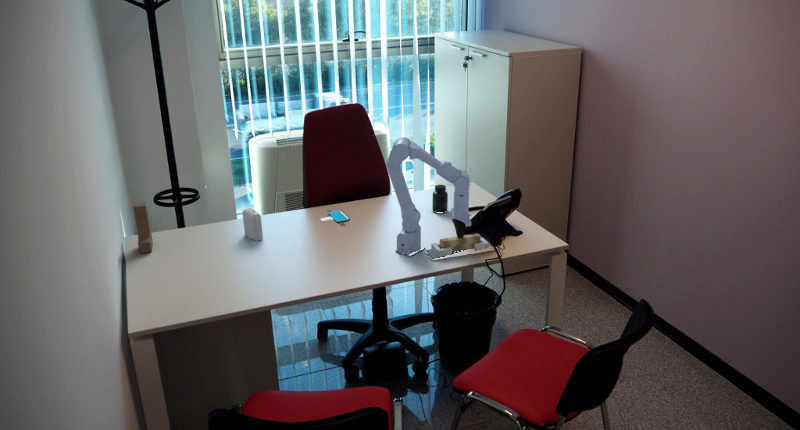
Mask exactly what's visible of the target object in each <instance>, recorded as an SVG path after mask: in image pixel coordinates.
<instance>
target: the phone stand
mask: <svg viewBox="0 0 800 430" xmlns="http://www.w3.org/2000/svg"><path fill="white" fill-rule="evenodd" d="M326 211H327V212H328V215H330V216H326V217H321V218H320V221H321V222H328V221H336V223H338V224H339V225H341V226H345V225H346V224H345V223H344V222H348V221H350V220H351V219H350V216H348V215H347V214H346V213H345V212H344V210H342V209H341V210H334V211H332V210H331V209H326Z"/></svg>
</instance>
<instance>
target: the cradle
mask: <svg viewBox="0 0 800 430" xmlns="http://www.w3.org/2000/svg"><path fill="white" fill-rule="evenodd" d="M489 244H490V243H489V241H487V240H486V239H485V238H484V237H482V236H481V237H480V243H475V244H474V250H475V251H477V250H482V249H486V248H488V247H489ZM430 246H431V249H424V252H425V251H426V252H427V253H428V255H429V256H430V257H431V258H432V259H435V258H440V257H445V256H447V255H452V254H454V252H452V249H451V248H450V247H449V248H443V249H440V242H433V243H431V245H430ZM463 251H464V250H463ZM459 252H461V251H459ZM455 253H458V252H457V251H456V252H455ZM428 255H427V256H428Z"/></svg>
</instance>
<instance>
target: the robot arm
mask: <svg viewBox="0 0 800 430" xmlns="http://www.w3.org/2000/svg"><path fill="white" fill-rule="evenodd" d="M407 158H409V159H408V160H416V159H418V160H419V161H421V162H422V163H425V165H429V166H430V167H431V168H433V169H435V172H436V174H437V175H438V176H440V177H441V178H443V179H444V180H446V181H447V182H449V183H450V184H453V187H454V191H453V206H452V207H453V208H450V214H451V215H452V217H453V218H452V219H451V221H452V223H453V226H454V229H455V233H456V237H458V238H461V237H463V236H465V232H466V230H467V227H471V226H472V220H471V219H470V217H471V216H472V213H470V211H469V210H470V209H469V206H470V192H469V191H470V185H471V184H470V182H471V180H470V176H469V174H468V173H467V172H466V170H462V169H459V168H457V167H455V166H454V165H453V164H452V162H451V161H446V160H442V161H441V160H439V159H438V158H436V156H433V155H432V154H431V153H429V152H428V151H427V150H426V149H424V148H422V147H421V146H420V145H418V144H417V143H416V142H414V141H413V140H410V139H409V138H407V137H404V136H402V137H399V138H398V139H397V140H396V141H395V142H394V144H393V146H392V147H391V149H390V152H389V155H388V158H387V163H386V169H387V172H388V176H389V178H390V181H391V184H392V187H393V190H394V192H395V193H394V194H395V195H396V196H395V197H396V198H397V201H398V204H399V207H400V214H401V215H400V216H401V219H402V222H401V226H402V227H401V230H400V232H399V233H398V234H397V236H396V249H395V250H394V251H395V252H396V251H398V252H397V253H399V252H401V253H400V254H402V253H404V254H403V255H405V254H407V255H406V256H408V255H409V254H411V253H413V252H416V251H418V250H420V249H421V246H422V245H421V244H422V242H421V240H422V233H421V231H422V229H421V225H420V223H419V222H420V220H421V216H422V215H421V212H420V211H419V210H418V208H416V205H415V204H414V202H413V200H412V197H411V194H410V191H409V188H408V185H407V181H406V180H405V179H406V178H405V176H404V173H403V170H402V166H401V165H402V164H403V162H404V161H406V160H407Z"/></svg>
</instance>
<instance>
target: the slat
mask: <svg viewBox="0 0 800 430" xmlns="http://www.w3.org/2000/svg"><path fill="white" fill-rule="evenodd" d="M480 237H482V236H481V235H480V234H479V233H472V234H464V236H463V237H461V238H458V237H457V236H452V237H447V238H441V239H440V238H439V243H440V249H443V248H449V247H450V248H451V249H452V252H455V251H461V250H467V249H473V248H474V244H475V243H480Z"/></svg>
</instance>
